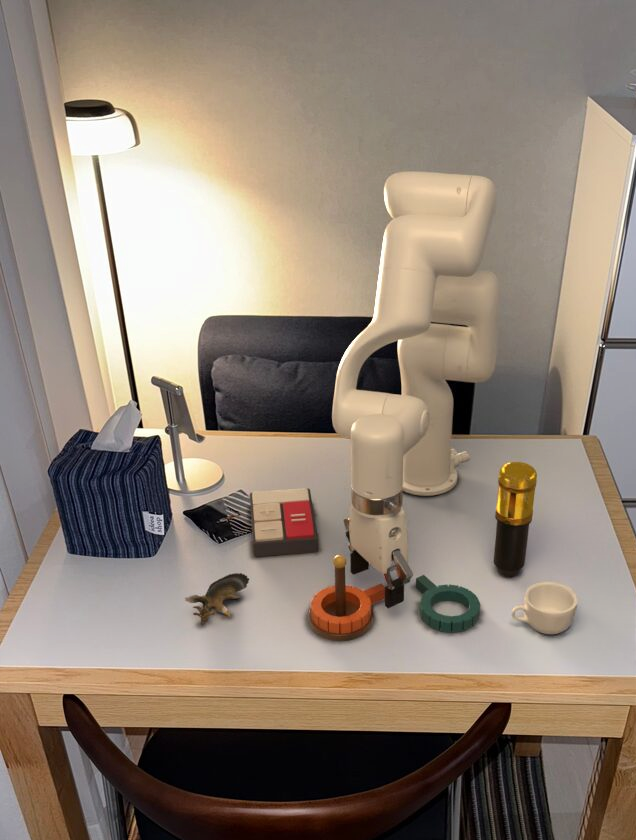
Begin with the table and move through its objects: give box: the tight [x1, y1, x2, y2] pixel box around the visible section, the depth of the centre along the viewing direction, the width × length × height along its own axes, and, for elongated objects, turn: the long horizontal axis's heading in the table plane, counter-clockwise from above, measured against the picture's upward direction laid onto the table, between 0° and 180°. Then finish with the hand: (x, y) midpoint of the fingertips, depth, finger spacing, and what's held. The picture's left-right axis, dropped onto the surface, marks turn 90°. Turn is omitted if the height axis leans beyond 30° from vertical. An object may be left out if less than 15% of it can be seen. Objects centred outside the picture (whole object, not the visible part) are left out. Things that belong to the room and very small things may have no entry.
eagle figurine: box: [184, 572, 250, 626], centre depth 141 cm, size 8×7×9 cm
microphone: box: [493, 461, 538, 578], centre depth 146 cm, size 6×13×20 cm, turn 108°
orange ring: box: [310, 583, 386, 634], centre depth 140 cm, size 13×9×2 cm
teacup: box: [510, 581, 579, 635], centre depth 138 cm, size 10×8×5 cm
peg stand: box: [308, 554, 374, 642], centre depth 138 cm, size 10×10×12 cm
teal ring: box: [415, 574, 481, 634], centre depth 143 cm, size 13×9×2 cm
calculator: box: [249, 487, 319, 558], centre depth 160 cm, size 11×4×15 cm
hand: (376, 587), depth 142 cm, fingers open, 9 cm apart
